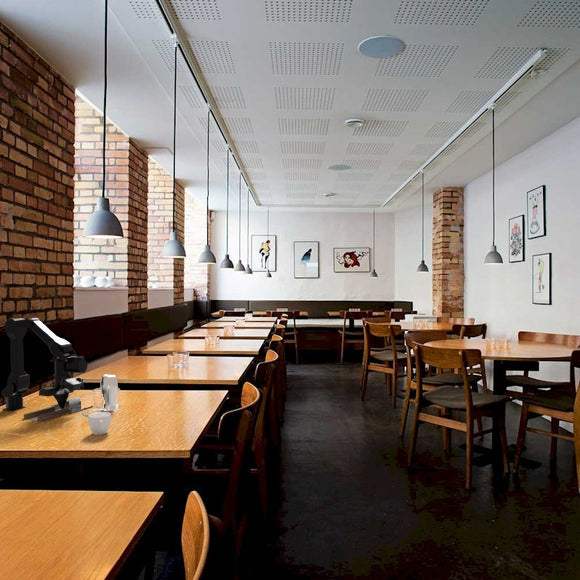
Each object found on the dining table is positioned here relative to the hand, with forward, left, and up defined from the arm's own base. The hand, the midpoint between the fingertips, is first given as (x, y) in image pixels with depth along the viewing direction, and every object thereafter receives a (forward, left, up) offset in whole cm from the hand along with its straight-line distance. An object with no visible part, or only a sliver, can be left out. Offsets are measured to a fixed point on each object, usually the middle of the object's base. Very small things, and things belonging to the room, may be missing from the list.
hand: (62, 408), depth 202 cm
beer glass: (+16, +10, -2) cm, 19 cm away
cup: (+37, -17, -2) cm, 41 cm away
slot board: (0, -2, -2) cm, 2 cm away
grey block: (0, +8, -1) cm, 8 cm away
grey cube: (0, +4, -1) cm, 4 cm away
